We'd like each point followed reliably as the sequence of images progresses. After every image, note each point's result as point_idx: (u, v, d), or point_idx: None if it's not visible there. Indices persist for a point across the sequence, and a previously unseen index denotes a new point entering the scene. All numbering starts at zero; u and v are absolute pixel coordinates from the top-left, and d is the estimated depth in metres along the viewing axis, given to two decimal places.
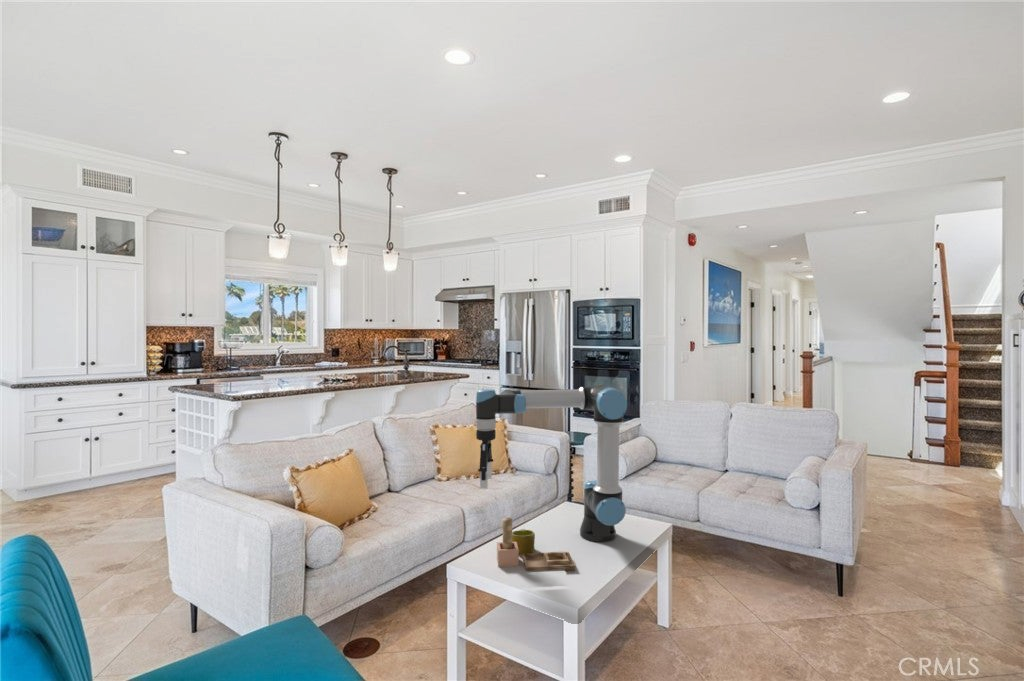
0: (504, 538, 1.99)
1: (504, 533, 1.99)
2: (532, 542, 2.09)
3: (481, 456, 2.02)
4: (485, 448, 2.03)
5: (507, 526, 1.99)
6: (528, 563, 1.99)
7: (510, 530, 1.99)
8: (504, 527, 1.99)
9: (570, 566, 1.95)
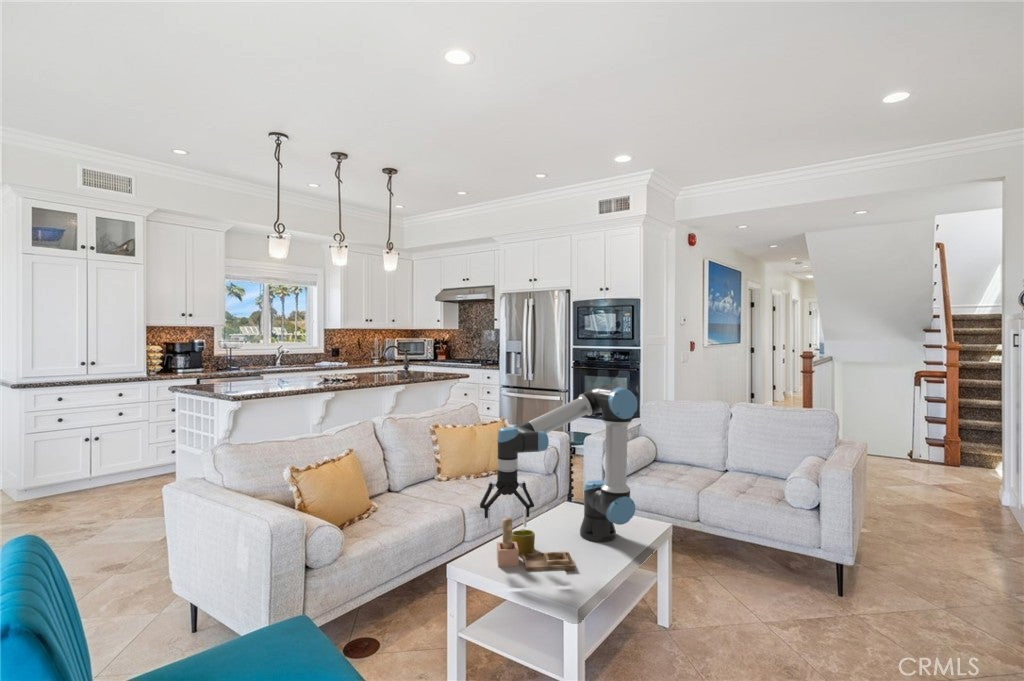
0: (504, 538, 1.99)
1: (504, 533, 1.99)
2: (532, 542, 2.09)
3: None
4: (488, 486, 1.99)
5: (507, 526, 1.99)
6: (528, 563, 1.99)
7: (510, 530, 1.99)
8: (504, 527, 1.99)
9: (570, 566, 1.95)
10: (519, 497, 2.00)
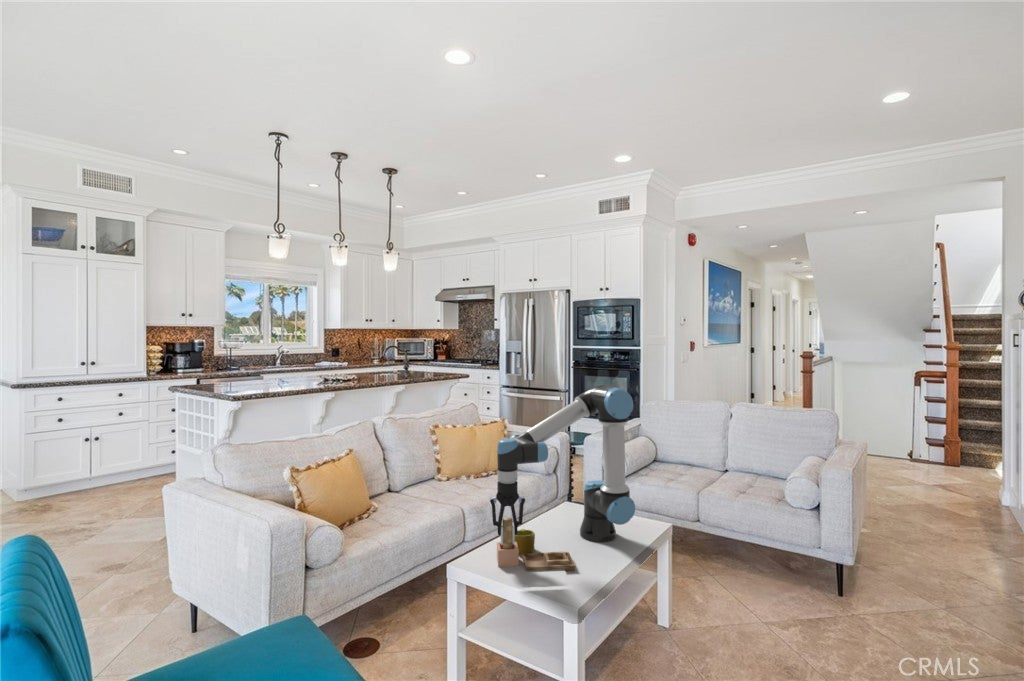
0: (504, 538, 1.99)
1: (504, 533, 1.99)
2: (532, 542, 2.09)
3: None
4: None
5: (507, 526, 1.99)
6: (528, 563, 1.99)
7: (510, 530, 1.99)
8: (504, 527, 1.99)
9: (570, 566, 1.95)
10: (513, 511, 2.00)
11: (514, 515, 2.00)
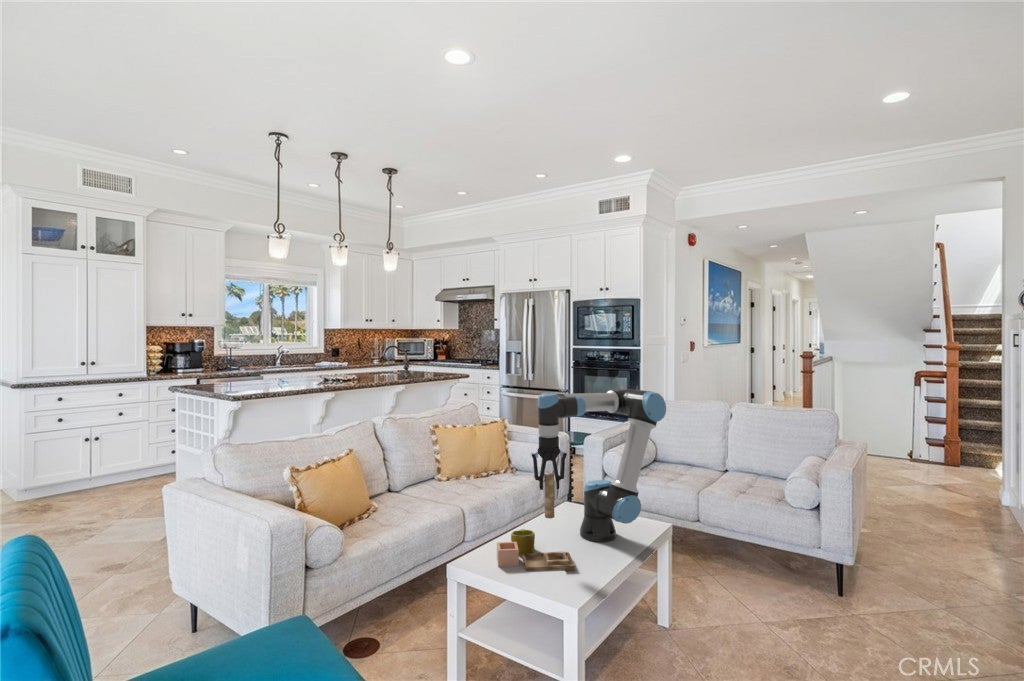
0: (546, 493, 1.99)
1: (546, 488, 1.99)
2: (532, 542, 2.09)
3: (533, 464, 2.00)
4: (532, 457, 1.99)
5: (549, 481, 1.99)
6: (528, 563, 1.99)
7: (552, 484, 1.99)
8: (546, 482, 1.99)
9: (570, 566, 1.95)
10: (555, 466, 1.99)
11: (556, 470, 1.99)
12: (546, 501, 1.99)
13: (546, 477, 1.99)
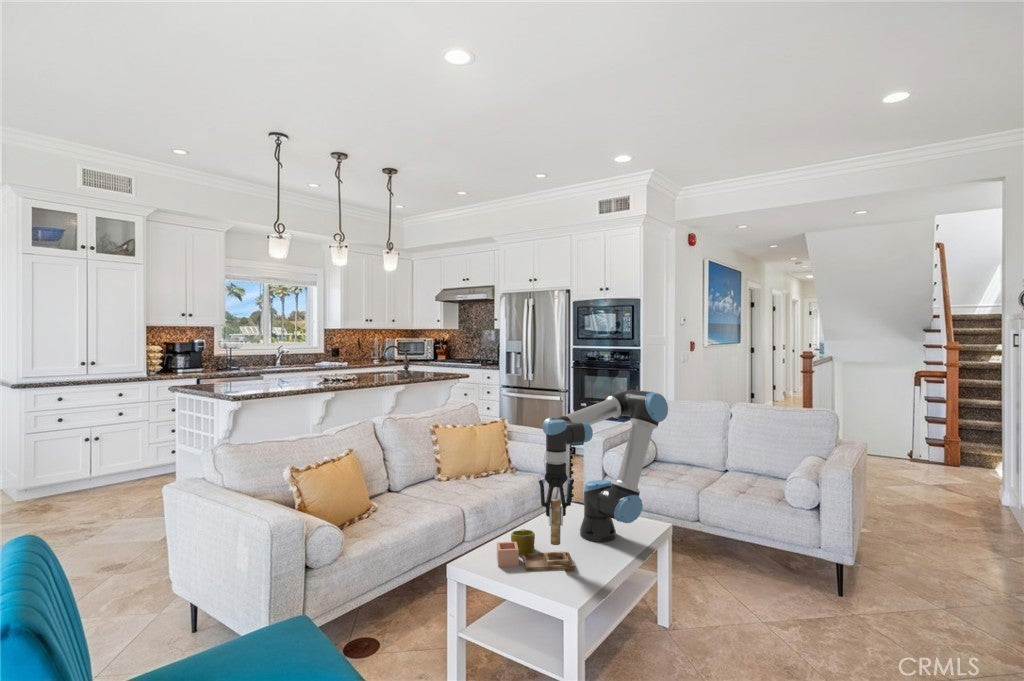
0: (553, 519, 1.99)
1: (553, 514, 1.99)
2: (532, 542, 2.09)
3: (540, 490, 2.00)
4: None
5: (556, 507, 1.98)
6: (528, 563, 1.99)
7: (559, 511, 1.99)
8: (553, 508, 1.99)
9: (570, 566, 1.95)
10: (562, 493, 1.99)
11: (563, 496, 1.99)
12: (552, 528, 1.99)
13: (553, 504, 1.99)
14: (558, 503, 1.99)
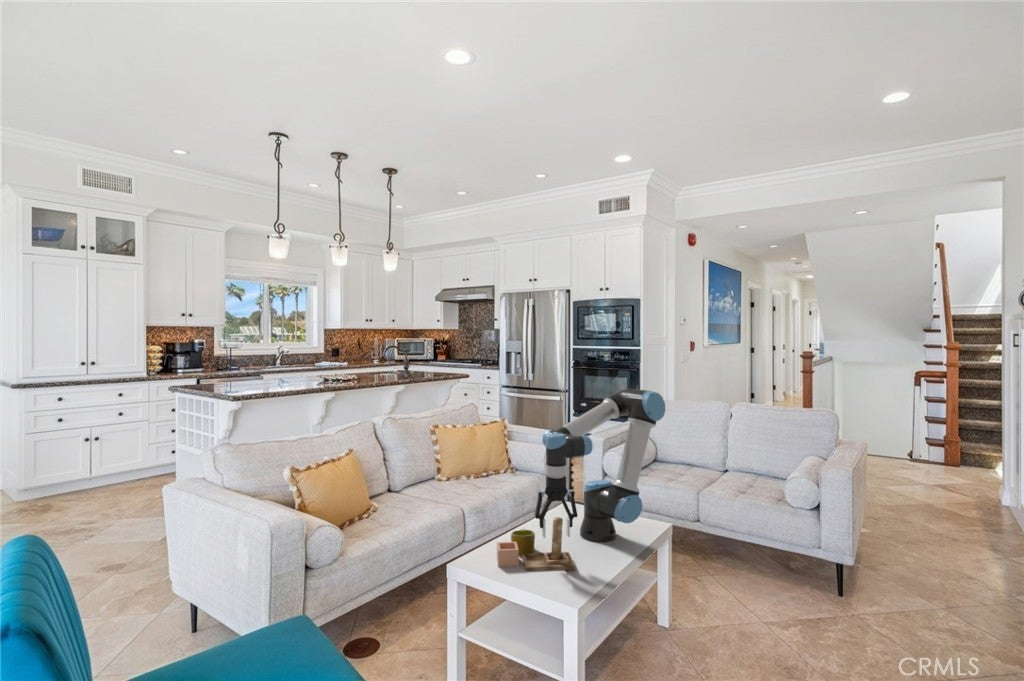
0: (554, 537, 1.99)
1: (554, 532, 1.99)
2: (532, 542, 2.09)
3: (537, 502, 2.00)
4: (538, 495, 1.99)
5: (558, 526, 1.99)
6: (528, 563, 1.99)
7: (560, 530, 1.99)
8: (554, 526, 1.99)
9: (570, 566, 1.95)
10: (565, 505, 1.99)
11: (567, 508, 2.00)
12: (553, 546, 1.99)
13: (555, 522, 1.99)
14: (560, 522, 1.99)
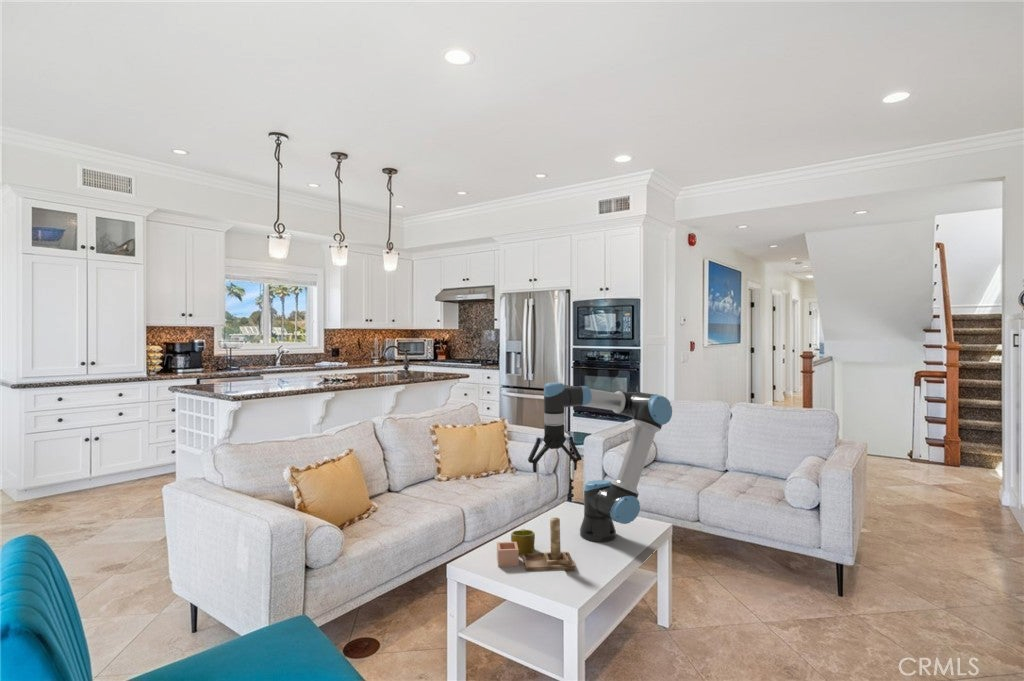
0: (552, 538, 1.99)
1: (552, 533, 1.99)
2: (532, 542, 2.09)
3: (533, 447, 2.03)
4: (536, 441, 2.01)
5: (555, 526, 1.98)
6: (528, 563, 1.99)
7: (558, 530, 1.99)
8: (552, 527, 1.99)
9: (570, 566, 1.95)
10: (567, 451, 2.02)
11: (569, 453, 2.03)
12: (552, 546, 1.99)
13: (552, 522, 1.99)
14: (557, 522, 1.99)
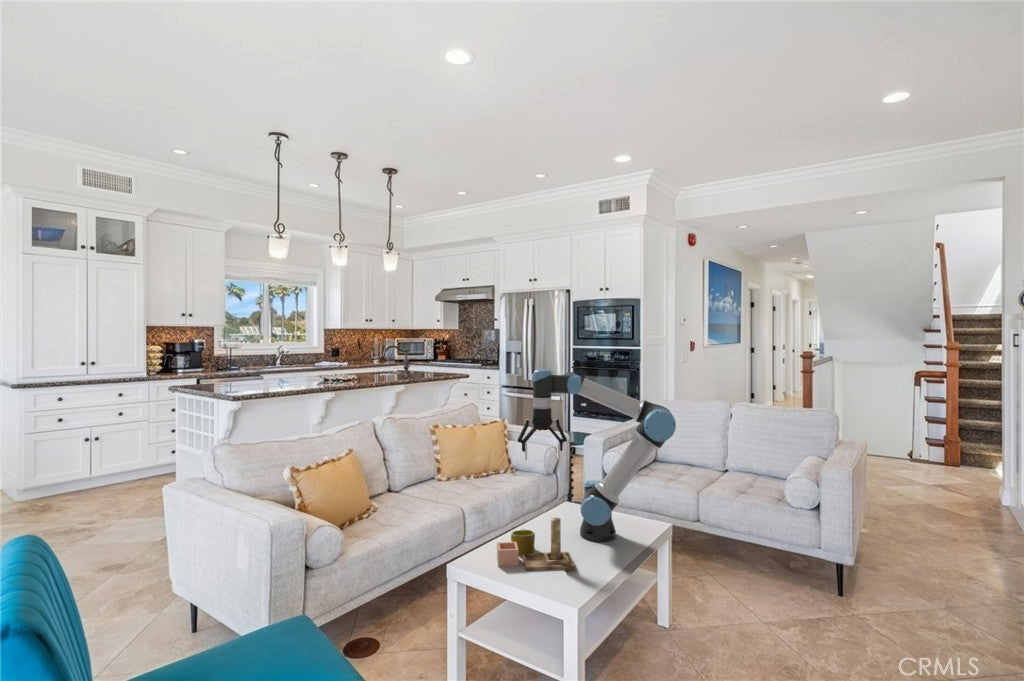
0: (553, 538, 1.99)
1: (553, 533, 1.99)
2: (532, 542, 2.09)
3: (522, 429, 2.20)
4: (525, 422, 2.19)
5: (556, 526, 1.98)
6: (528, 563, 1.99)
7: (559, 530, 1.99)
8: (553, 527, 1.99)
9: (570, 566, 1.95)
10: (553, 432, 2.20)
11: (555, 435, 2.20)
12: (553, 546, 1.99)
13: (553, 522, 1.99)
14: (558, 522, 1.99)
